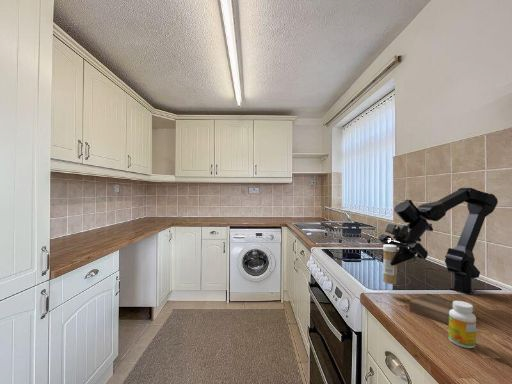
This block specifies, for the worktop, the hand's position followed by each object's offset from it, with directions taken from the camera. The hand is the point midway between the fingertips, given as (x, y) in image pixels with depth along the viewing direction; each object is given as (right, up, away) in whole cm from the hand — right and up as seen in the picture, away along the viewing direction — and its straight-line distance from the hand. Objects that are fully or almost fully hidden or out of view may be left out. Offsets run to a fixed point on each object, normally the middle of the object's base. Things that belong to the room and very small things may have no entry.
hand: (386, 262), depth 94 cm
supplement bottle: (+5, -12, -29) cm, 31 cm away
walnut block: (+10, -12, -13) cm, 20 cm away
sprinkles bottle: (+1, -7, 0) cm, 7 cm away
